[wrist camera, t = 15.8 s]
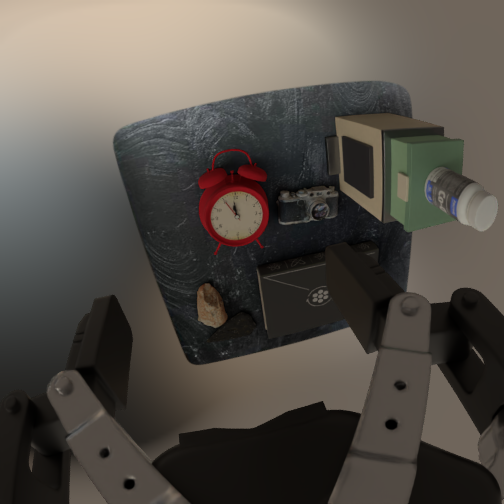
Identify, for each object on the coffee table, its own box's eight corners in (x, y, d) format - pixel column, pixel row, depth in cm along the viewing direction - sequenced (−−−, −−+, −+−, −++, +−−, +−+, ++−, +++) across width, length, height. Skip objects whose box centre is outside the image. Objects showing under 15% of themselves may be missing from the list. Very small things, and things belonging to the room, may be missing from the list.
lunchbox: (386, 136, 34) (409, 144, 30) (442, 132, 34) (465, 140, 31) (385, 218, 39) (405, 233, 35) (438, 206, 40) (458, 219, 36)
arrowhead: (259, 331, 61) (213, 352, 61) (258, 328, 62) (212, 349, 62) (247, 310, 58) (197, 333, 58) (246, 308, 58) (197, 330, 58)
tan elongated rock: (218, 274, 56) (190, 283, 54) (227, 285, 53) (198, 294, 51) (224, 320, 61) (199, 329, 59) (232, 331, 58) (207, 341, 56)
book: (371, 239, 57) (379, 246, 54) (366, 302, 64) (372, 310, 62) (255, 264, 55) (259, 274, 52) (265, 329, 62) (268, 339, 59)
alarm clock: (205, 260, 48) (193, 170, 38) (202, 234, 53) (191, 150, 43) (274, 250, 50) (277, 161, 40) (264, 226, 54) (265, 142, 44)
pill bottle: (417, 183, 32) (468, 213, 25) (442, 158, 31) (495, 181, 24) (432, 211, 34) (478, 243, 27) (455, 186, 33) (503, 214, 26)
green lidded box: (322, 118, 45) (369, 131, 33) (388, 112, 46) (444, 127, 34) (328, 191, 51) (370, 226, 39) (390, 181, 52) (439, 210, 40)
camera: (273, 190, 49) (281, 199, 45) (336, 183, 50) (347, 192, 47) (275, 220, 51) (282, 231, 48) (335, 213, 53) (346, 223, 49)
